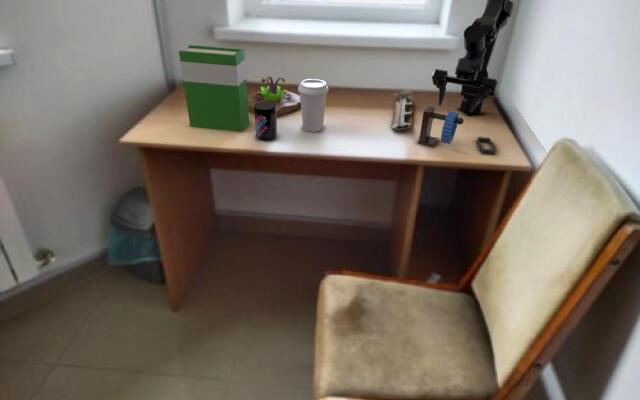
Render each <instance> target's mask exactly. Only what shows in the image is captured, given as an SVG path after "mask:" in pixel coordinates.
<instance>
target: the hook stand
mask: <svg viewBox="0 0 640 400" xmlns="http://www.w3.org/2000/svg"><path fill="white" fill-rule="evenodd" d="M435 109H436V107H435V106H431V105H428V106H427V107H426V108H425V109H424V110H423V113H422V118H421V125H420V131H419V138H418V141H417V144H418V145H421V146H426V147H431V148H433V147H434V146H435V144H436V143H437V141H438V139H439V138H438V137H434V136H431V133H432V127H433V122H434V119H435V120H441V121H445V119H446V117H447V115H448V114H443V113H438V112H435ZM464 122H465V120H464V118H463V117H458V118H457V117H456V118H455V120H454V123H457V125H463V124H464Z"/></svg>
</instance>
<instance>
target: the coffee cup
mask: <svg viewBox="0 0 640 400" xmlns="http://www.w3.org/2000/svg"><path fill="white" fill-rule="evenodd" d="M297 91H298V92H299V95H300V101H301V109H300V111H301V121H302V129H303V130H304V131H305V132H310V133H314V132H315V133H316V132H320V131H322V130H323V128H324V119H325V111H326V102H327V95H328V94H327V93H328V92H329V91H330V89H329V87H328V85H327V82H326V81H325V80H323V79H318V78H307V79H303V80H302V81H300V84H299V85H298V87H297Z"/></svg>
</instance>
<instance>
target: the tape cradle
mask: <svg viewBox="0 0 640 400" xmlns="http://www.w3.org/2000/svg"><path fill="white" fill-rule="evenodd" d="M481 143H485V144H486V143H487V144H489V145H490V148H483V147H482V144H481ZM476 145H477V148H478V150H479V152H481V154H482V155H494V156H495V154H496V147H495V143H494V142H493V140H491V137H484V136H477V139H476Z"/></svg>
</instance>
